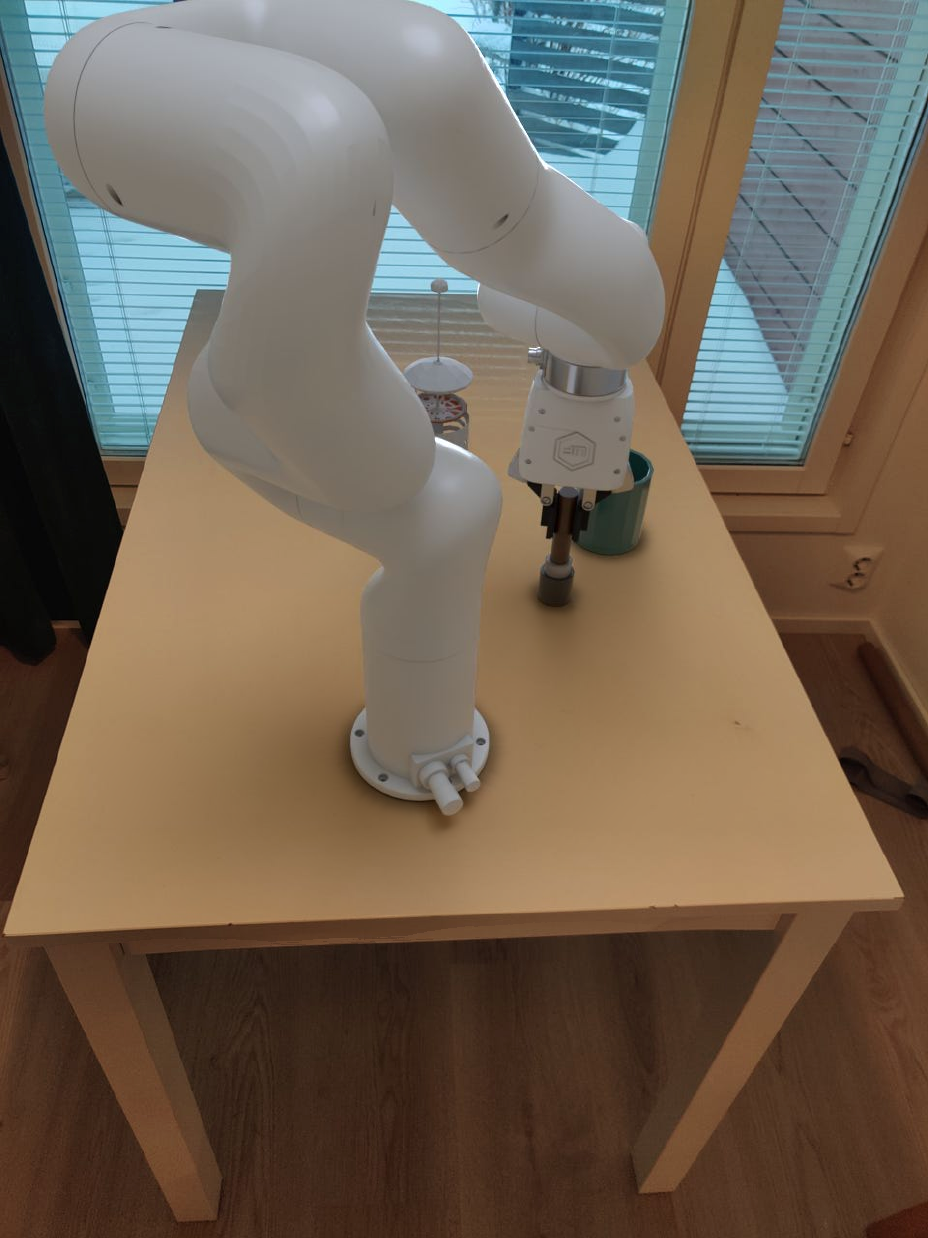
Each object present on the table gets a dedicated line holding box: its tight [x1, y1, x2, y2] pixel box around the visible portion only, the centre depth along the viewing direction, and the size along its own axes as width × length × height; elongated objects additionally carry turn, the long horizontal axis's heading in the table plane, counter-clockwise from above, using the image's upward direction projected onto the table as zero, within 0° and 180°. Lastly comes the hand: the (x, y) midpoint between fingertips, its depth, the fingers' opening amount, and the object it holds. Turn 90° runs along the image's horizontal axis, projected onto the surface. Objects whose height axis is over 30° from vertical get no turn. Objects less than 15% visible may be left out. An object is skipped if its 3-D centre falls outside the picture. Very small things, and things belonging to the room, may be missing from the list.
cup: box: [575, 448, 655, 556], centre depth 106 cm, size 8×8×10 cm
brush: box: [537, 486, 578, 607], centre depth 96 cm, size 4×4×14 cm
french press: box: [402, 277, 474, 451], centre depth 109 cm, size 10×12×25 cm
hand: (563, 531), depth 95 cm, fingers closed on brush, 2 cm apart
